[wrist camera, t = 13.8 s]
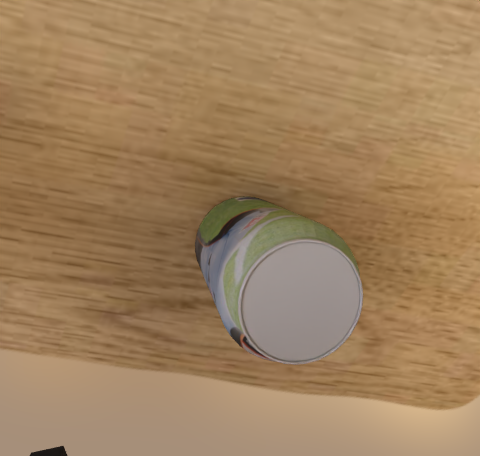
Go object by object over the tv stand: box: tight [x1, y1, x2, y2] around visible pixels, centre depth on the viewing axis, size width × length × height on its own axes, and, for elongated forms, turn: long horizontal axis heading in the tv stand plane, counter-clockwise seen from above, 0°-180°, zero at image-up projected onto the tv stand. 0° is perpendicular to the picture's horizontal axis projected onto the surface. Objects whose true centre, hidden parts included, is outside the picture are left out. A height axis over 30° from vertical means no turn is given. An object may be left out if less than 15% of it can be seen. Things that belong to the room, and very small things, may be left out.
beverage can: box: [195, 196, 363, 365], centre depth 21 cm, size 6×7×12 cm
